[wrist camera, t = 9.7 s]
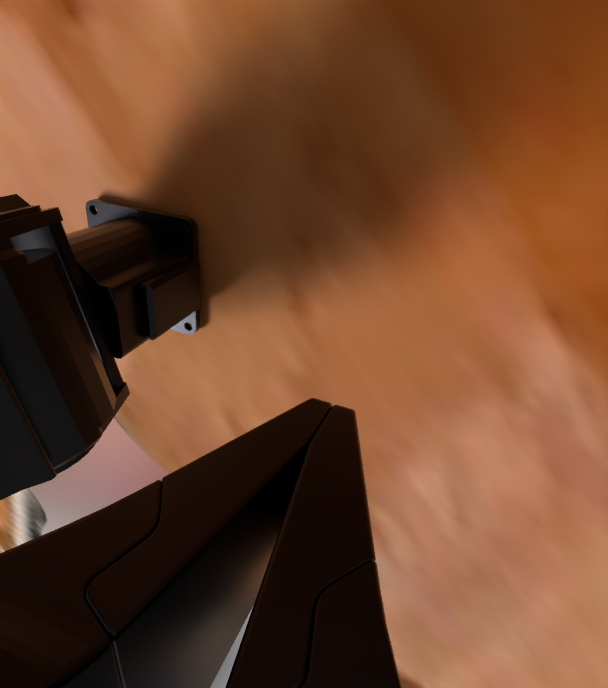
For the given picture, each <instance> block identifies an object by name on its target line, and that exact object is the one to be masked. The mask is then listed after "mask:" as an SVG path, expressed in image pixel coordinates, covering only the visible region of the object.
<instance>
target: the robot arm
mask: <svg viewBox="0 0 608 688" xmlns="http://www.w3.org/2000/svg"><path fill="white" fill-rule="evenodd" d="M95 207H96V208H97V211H98V212H97V211H96V209H95ZM86 213H87V219H88V226H89V228H85V229H82V230H79V231H75V232H72V233H69V234H66V233H65V231H64V228H63V225H62V223H61V221H63V218H62V216H61V213H60V210H59V208H58V207H54V208H48V209H42V210H41V208H40V205H37V206H33V205H32V206H31V205H29V204H28V203H27V202H26V201H24V200H23V199H22V198H21V197H19V196H18V195H17V194H15V195H9V196H4V197H0V500H2V499H4V498H6V497H8V496H10V495H12V494H14V493H17V492H19V491H21V490H23V489H26V488H29V487H32V486H35V485H38V484H41V483H44V482H47V481H49V480H52V479H53V478H55V477H56V475H57V474H58V473H60V472H62V471H64V470H66V469H68V468H69V467H71V466H72V465H73V464H75V463H77V462H78V461H79V460H81V459H82V458H83V457H84V456H85V455H86V454H88V453H89V451H90V450H91V449H92V448H93V447H94V445H95V444H96V442H98V440H99V439H100V438H101V436H102V434H103V432H104V431H105V429H106V428H107V426H108V425H109V423H110V422H111V420H112V419H113V417H114V416H115V415H116V413H117V412H118V410H119V409H120V407H121V406H122V404H123V403H124V401H125V400H126V398H127V397H128V396H129V394H130V391H129V389H128V386H127V384H126V382H123V379H122V377H121V374H120V372H119V369H118V367H117V364H116V361H115V359H114V357H115V358H120V359H121V358H122V357H124V356H125V355H126V354H128V353H129V352H131V351H132V350H134V349H135V348H137V347H138V346H140V345H141V344H142V343H144V342H145V341H147V340H148V339H150V340H155V339H156V338H158V337H159V336H161V335H162V334H163V333H165V332H166V331H168V330H169V329H171V330H174V331H178V332H182V333H185V334H189V335H192V334H194V333H195V332H197V331H198V330H199V328H200V314H199V308H200V307H201V291H200V264H199V262H198V239H197V225H196V223H195V222H194V221H193V220H192V219H191V218H189V217H184V216H179V215H174V214H169V213H164V212H159V211H154V210H149V209H144V208H139V207H134V206H129V205H124V204H119V203H114V202H109V201H104V200H99V199H94V200H90V201H88V202H87V204H86ZM184 224H185V225H187V227H188V230H189V231H188V232H187V231H186V230H185V228H184ZM188 323H190V324H191V325H192V327H190V326H189V324H188ZM375 559H376V558H375V551H374V543H373V536H372V529H371V522H370V515H369V507H368V500H367V493H366V486H365V478H364V471H363V464H362V457H361V450H360V442H359V435H358V428H357V421H356V414H355V411H354V410H352V409H349V408H346V407H343V406H339V405H334V406H333V407H332V404H331V403H329V402H326V401H322V400H319V399H315V398H311V399H308V400H306V401H305V402H303V403H301V404H299V405H297V406H295V407H293V408H292V409H290V410H288V411H286V412H284V413H282V414H280V415H279V416H277V417H275V418H273V419H271V420H269V421H267V422H266V423H264V424H262V425H260V426H258V427H256V428H254V429H253V430H251V431H249V432H247V433H245V434H243V435H241V436H239V437H238V438H236V439H234V440H232V441H230V442H228V443H226V444H225V445H223V446H221V447H219V448H217V449H215V450H213V451H212V452H210V453H208V454H206V455H204V456H202V457H200V458H199V459H197V460H195V461H193V462H191V463H189V464H187V465H186V466H184V467H182V468H180V469H178V470H176V471H174V472H173V473H171V474H169V475H167V476H165V477H163V479H162V481H160V480H157V481H156V482H154V483H152V484H150V485H148V486H146V487H144V488H142V489H141V490H139V491H137V492H135V493H133V494H131V495H129V496H127V497H125V498H123V499H121V500H119V501H117V502H115V503H113V504H111V505H109V506H107V507H105V508H103V509H101V510H99V511H96V512H94V513H92V514H90V515H88V516H86V517H83V518H81V519H79V520H77V521H74V522H72V523H70V524H68V525H66V526H63V527H61V528H58V529H56V530H54V531H52V532H49V533H47V534H45V535H42V536H40V537H38V538H35V539H33V540H31V541H28V542H26V543H24V544H21V545H19V546H17V547H14V548H12V549H10V550H7V551H5V552H3V553H0V688H210V687H211V685H212V683H213V681H214V679H215V677H216V675H217V673H218V671H219V670H220V668H221V666H222V664H223V662H224V660H225V658H226V656H227V654H228V653H229V651H230V649H231V647H232V645H233V643H234V641H235V639H236V637H237V635H238V634H239V632H240V630H241V628H242V626H243V624H244V622H245V620H246V618H247V616H248V614H249V612H250V611H251V609H252V607H253V609H252V612H251V615H250V618H249V621H248V624H247V626H246V630H245V632H244V635H243V638H242V641H241V644H240V647H239V650H238V653H237V656H236V659H235V662H234V664H233V667H232V670H231V673H230V676H229V679H228V682H227V685H226V688H402V686H401V682H400V678H399V675H398V671H397V667H396V663H395V659H394V654H393V650H392V646H391V642H390V637H389V633H388V629H387V625H386V619H385V614H384V608H383V602H382V596H381V591H380V584H379V577H378V570H377V564H376V562H375ZM253 605H254V606H253Z"/></svg>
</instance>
